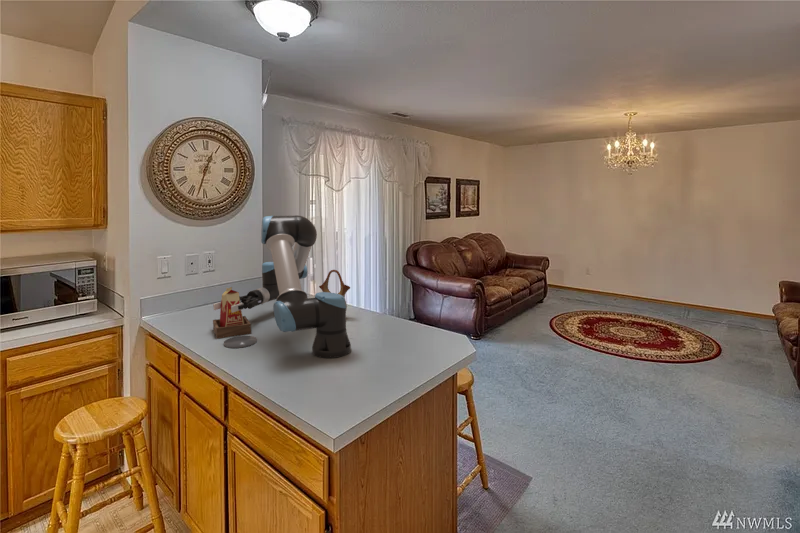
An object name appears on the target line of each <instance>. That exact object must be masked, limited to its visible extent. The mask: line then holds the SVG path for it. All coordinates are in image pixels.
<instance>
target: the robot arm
mask: <svg viewBox="0 0 800 533" xmlns="http://www.w3.org/2000/svg"><path fill="white" fill-rule="evenodd" d="M260 235H261V236H260V242H261V244H263V245H266V246H265V247H266V248H267V249H268V250H269V251H271V257H272V261H266V262H263V263H262V264H261V275H262V276H261V278H262V279H261V280H262V287H259V288H257V289H254V290H251V291H248V292H247V294H246V295H243V296H240V295H239V298H240V304H237V305H234V306H231V312H232V313H233V312H236V311H239V310H241V311H242V310H244V309H245V310H246V309H248V310H250V309H253V308H255V307H257V306H260V305H263V304H265V303H268V302H272V301H274V302H273V306H272V307H273V308H272V309H273V314H274V315H273V316H274V320H275V323H276V326H277V328H278V329H279V331H281V332H285V333H287V332H290V333H293V332H296V331H305V330H312V329H315V330H316V331H315V337H314V340H313V343H312V347H311V349H312V354H313V355H314V356H316V357H319V358H324V359H325V358H326V359H327V358H328V359H329V358H331V359H332V358H339V357H344V356H346V355H348V354H349V353H350V352H351V351H352V345H351V344H352V343H351V341H350V339H349V335H348V334H347V333H348V332H347V315H346V314H347V310H346V304H347V301H346V298H344V296H342V295H340V294H338V293H336V292H331V291H330V292H331V293H330V292H323V291H321V292H316V293H315V295H314V297H308V295H307V291H304V290H303V289H302V284H301V281H300V280H302V279H305V278H307V277H308V267H307V264H306V263H307V262H308V261H307V260H308V259H309V255H310V252H311V249H312V247H313V246H314V245H315V243H316V241H317V238H318V233H317V229H316V227H315V224H314V223H313V222H312V221H311V220H310V219H309V218H307V217H305V216H303V215H268V216H266V215H265V216H263V217H262V220H261V230H260ZM345 301H346V302H345ZM212 305H213V311H217V310H220V309H221V301H219V302H216V303H213V304H212Z"/></svg>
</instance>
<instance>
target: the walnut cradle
mask: <svg viewBox="0 0 800 533" xmlns="http://www.w3.org/2000/svg"><path fill="white" fill-rule="evenodd" d="M242 316H243V321H244V324H241V325H234V326H227V327H220V318H219V319H212V328H213V331H214V334H215V337H216V339H223V338H232V337H237V335H239V336H246V335H250V334H252V324H251V322H250V321H249V319H248V318H247V316H246V315H242Z"/></svg>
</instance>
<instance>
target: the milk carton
mask: <svg viewBox="0 0 800 533" xmlns="http://www.w3.org/2000/svg"><path fill="white" fill-rule="evenodd" d="M225 289H226V290H225V291H224V292H223V293H222V294H221V298H220V300H221V301H220V302H221V309H219V310H220V312H219V319H220V327H227V326H234V325H241V324H244V321H243V316H244V315H243V312H242V310H239V311H236V312H233V313H232V312H231V306H234V305H237V304H240V298H239V296H240V293H239V292H238V291H236V290H233V286H231V287H225Z"/></svg>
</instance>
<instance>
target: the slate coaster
mask: <svg viewBox="0 0 800 533" xmlns="http://www.w3.org/2000/svg"><path fill="white" fill-rule="evenodd" d="M257 343H258V338H257V337H255V336H252V335H239V336H232V337H228V338H227V339H226V340H224V341H223V346H224V347H225V348H227V349H243V348H248V346H249V347H252V346H254V345H255V344H257ZM251 345H252V346H251Z"/></svg>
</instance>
